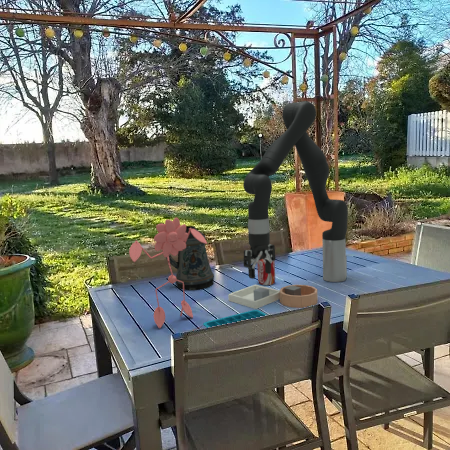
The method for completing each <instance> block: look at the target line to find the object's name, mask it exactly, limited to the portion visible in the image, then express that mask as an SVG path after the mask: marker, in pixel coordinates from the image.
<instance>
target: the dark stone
mask: <svg viewBox="0 0 450 450" xmlns="http://www.w3.org/2000/svg"><path fill="white" fill-rule="evenodd" d="M288 286H289V285H288ZM285 294H288V295H295V296H301V287H296V286H289V287H287V288H285Z"/></svg>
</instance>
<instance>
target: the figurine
mask: <svg viewBox="0 0 450 450" xmlns="http://www.w3.org/2000/svg"><path fill="white" fill-rule="evenodd" d="M186 226H187V225H186V224H185V223H184V224H182V225H181V221H180V219H179V218H178V217H174V219H173V220H171V219H166V220H165V221H164V223H158V224H156V226H155V228H156V231H157V234H155V235H154V238H153V241H154V242H155V244H154V251H156V252H159V251H161V250H162V252H159V253H158V254H155V255H153V256H151V255H150V254H149V253H148V252H147V250H145V249H144V247H143V246H142V245H141V243H140V242H139V241H138V240H135V241H134V242H132V243H131V246H130V247H129V250H128V252H129V257H130V259H131V260H132V262H133V263H136V262H137V260H138V259H139V258H140V257H141V254H142V252H144V254H146V255H147V256H148V257H149V258H150V259H151V260H152V259H155V258H156V257H159V256H161V255H163V257H164V258H165V257H167V259H168V261H167V264H168V267H169V270H170V274H171V275H169V276H168V279H167V282H165V283H163V284H161V285H160V286H158V287H157V288H155V296H156V302H157V307H156V308H155V310H154V313H153V320H154V323H155V324H156V327H158V328H159V330H160V329H161V328H162V326H164V323H165V321H166V312H165V310H164V307H161V306H160V301H159V298H158V297H159V296H158V291H157V290H159V289H160V288H162V287H163V286H165V285H167V284H168V283H170V284H174V283H176V281H179V280H177V279H176V275H174V273H173V270H172V267H171V266H172V265H171V264H170V262H169V255H171V256H174V257H177V256H178V251H183V249H185V248H186V241H187V239H188V236H189V234H190V231H191V233H192V235H193V236H194V237H195V238H196V239H197V240H198V241H200V242H202V243H204V244H205V245H208V242H207V240H206V238H204V237H203V236H202V234H201V233H202V232H201V233H199V232H198V231H199V230H198V229H197V230H198V231H197V230H195V229H191V228H189V232H188V233H185V231H186ZM184 241H185V242H184ZM167 259H166V260H167ZM179 282H182V281H179ZM182 283H183V290H182V291H183V292H182V293H183V295H182V296H183V300H181V303H180V304H181V309H180V310H181V311H180V314H179V316H180V317H182V315H183V313H185V314H186V315H187V316H188V317H190V318H191V319H193V318H194V315H193V310H192V307H191V306H190V304H189V303H188V302H187V301H186V299H185V295H186V294H185V290H184V282H182ZM139 326H140V325H139ZM139 326H138V327H139ZM203 326H204V325H201V326H199V327H197V328H195V329H194V330H195V331H196V330H198V329H199V328H201V327H203ZM140 327H141V326H140Z"/></svg>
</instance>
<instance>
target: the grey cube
mask: <svg viewBox="0 0 450 450" xmlns="http://www.w3.org/2000/svg"><path fill="white" fill-rule="evenodd" d="M267 296H269V289H265V288H258V289H255V290H254V301H256V300H259V299H262V298H264V297H267Z"/></svg>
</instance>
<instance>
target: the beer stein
mask: <svg viewBox="0 0 450 450" xmlns="http://www.w3.org/2000/svg"><path fill="white" fill-rule="evenodd" d="M189 228H191V229H195V230H197V231H198V232H199V233H201V234H202V236H203V237H204V238H205V239H206V235H205V234H204V233H203V232H201V231H199V230H198V229H197V228H196V226H194V225H186V231H185V233H188V232H189ZM184 242H185V241H184ZM164 258H165V260H166V261H167V262H168V259H167V257H164ZM169 262H170V265H171V266H172V267H173V268H175V269H176V275H175V276H176V279H177V280H179V281H182V282H184V291H200V289H201V290H204V288H205V289H208V288H210V286H211V287H212V286H214V281H215V274H214V273H213V270H212V267H211V265H210V262H209V256H208V253H207V248H206V244H204V243H202V242H200V241H198V240H197V239H196V238H195V237H194V236H193V235H192V233H191V231H190V234H189V236H188V239H187V241H186V248H185V249H183V251H178V254H177V261H176V260H175V259H174V258H173V257H172V254H170V255H169ZM179 281H176V282H175V283H176V288H178V289H179V290H182V289H183V283H182V282H179Z"/></svg>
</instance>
